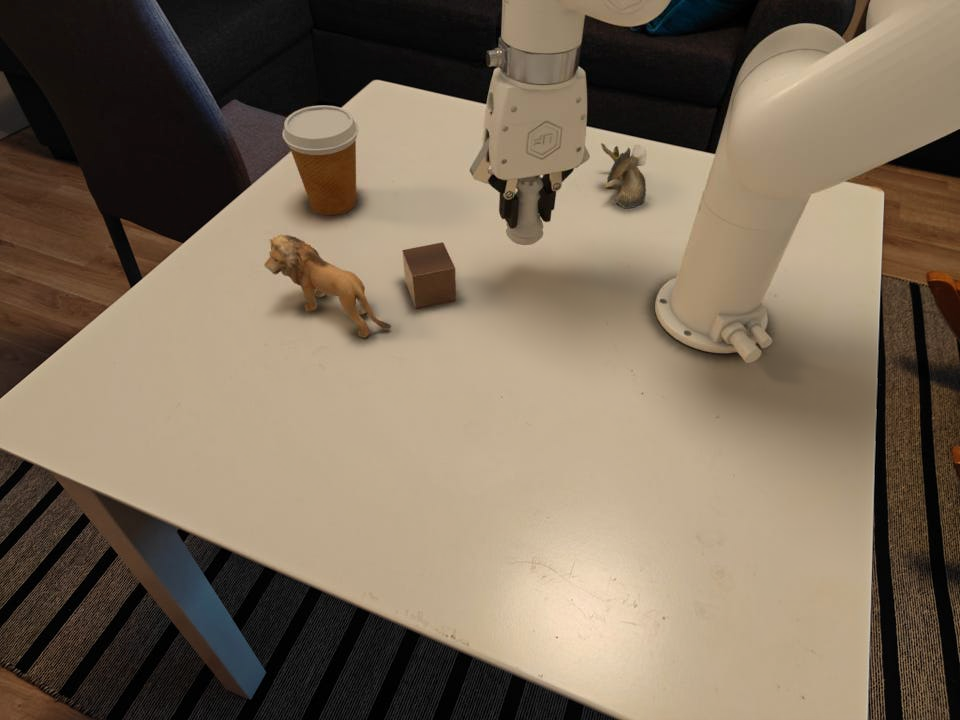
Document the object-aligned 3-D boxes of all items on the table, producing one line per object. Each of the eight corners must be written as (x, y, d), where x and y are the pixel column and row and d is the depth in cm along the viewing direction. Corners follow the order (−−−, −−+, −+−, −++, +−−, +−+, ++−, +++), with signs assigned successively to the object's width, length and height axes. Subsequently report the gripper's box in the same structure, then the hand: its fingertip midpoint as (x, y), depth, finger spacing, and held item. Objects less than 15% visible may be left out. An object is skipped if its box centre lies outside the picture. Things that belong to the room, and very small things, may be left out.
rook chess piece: (500, 227, 78) (503, 168, 72) (535, 221, 79) (541, 162, 73) (512, 250, 75) (517, 190, 69) (548, 243, 76) (555, 183, 70)
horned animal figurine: (583, 166, 95) (593, 190, 88) (615, 124, 92) (628, 146, 85) (622, 192, 98) (635, 218, 91) (654, 153, 94) (670, 177, 87)
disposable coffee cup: (378, 189, 93) (368, 109, 84) (351, 227, 87) (338, 145, 78) (317, 178, 94) (301, 99, 85) (286, 215, 88) (266, 134, 79)
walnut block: (456, 300, 77) (455, 267, 73) (415, 308, 76) (412, 276, 72) (444, 274, 80) (443, 241, 77) (405, 282, 79) (402, 249, 76)
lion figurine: (270, 308, 76) (251, 247, 69) (297, 281, 79) (280, 219, 73) (379, 345, 72) (370, 284, 65) (402, 315, 75) (396, 254, 69)
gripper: (468, 86, 57) (467, 251, 71) (636, 63, 61) (604, 224, 74) (444, 51, 62) (448, 212, 75) (601, 32, 66) (577, 189, 79)
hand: (526, 217), depth 75 cm, fingers closed on rook chess piece, 3 cm apart
